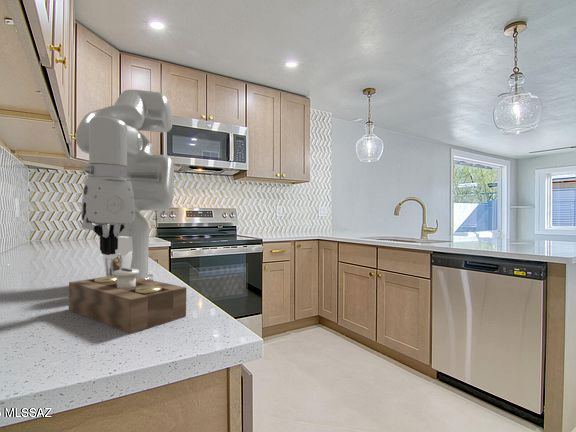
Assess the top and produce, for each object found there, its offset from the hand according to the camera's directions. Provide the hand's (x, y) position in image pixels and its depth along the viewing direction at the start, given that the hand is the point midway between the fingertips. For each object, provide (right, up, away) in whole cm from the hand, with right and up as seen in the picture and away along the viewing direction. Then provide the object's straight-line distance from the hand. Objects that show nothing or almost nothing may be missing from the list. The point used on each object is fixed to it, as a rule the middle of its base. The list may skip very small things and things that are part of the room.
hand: (108, 253), depth 74 cm
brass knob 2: (+13, -12, -10) cm, 20 cm away
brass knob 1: (0, -12, -1) cm, 12 cm away
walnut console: (+7, -12, -5) cm, 15 cm away
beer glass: (-4, -12, +11) cm, 17 cm away
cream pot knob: (+7, -9, -5) cm, 12 cm away
